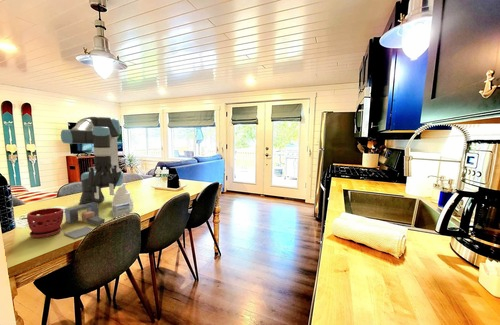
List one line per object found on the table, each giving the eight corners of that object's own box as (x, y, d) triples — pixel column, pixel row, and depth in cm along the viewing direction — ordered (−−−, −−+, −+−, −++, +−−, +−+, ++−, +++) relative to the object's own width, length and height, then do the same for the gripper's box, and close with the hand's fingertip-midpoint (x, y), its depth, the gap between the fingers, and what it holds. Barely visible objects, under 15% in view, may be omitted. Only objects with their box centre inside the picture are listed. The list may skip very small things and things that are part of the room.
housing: (94, 214, 135) (93, 202, 134) (98, 215, 133) (98, 203, 132) (65, 222, 122) (64, 208, 121) (70, 223, 120) (69, 210, 119)
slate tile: (86, 227, 116) (86, 226, 116) (97, 231, 111) (97, 230, 111) (64, 234, 107) (64, 233, 107) (75, 239, 102) (75, 237, 102)
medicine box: (116, 220, 126) (116, 206, 125) (113, 219, 128) (112, 205, 127) (130, 216, 133) (129, 203, 132) (126, 215, 135) (125, 202, 134)
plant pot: (50, 239, 101) (48, 215, 100) (20, 239, 100) (18, 215, 99) (70, 228, 114) (69, 206, 113) (45, 228, 113) (43, 206, 112)
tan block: (90, 218, 128) (90, 210, 128) (94, 220, 126) (94, 212, 126) (82, 221, 124) (81, 213, 123) (86, 222, 122) (85, 214, 122)
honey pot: (127, 205, 154) (126, 181, 152) (137, 208, 148) (136, 183, 146) (108, 210, 143) (106, 184, 141) (118, 214, 137) (116, 187, 135)
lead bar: (94, 220, 126) (94, 215, 126) (104, 223, 122) (104, 218, 121) (87, 222, 122) (87, 218, 122) (97, 226, 118) (97, 221, 118)
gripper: (116, 154, 124) (118, 191, 127) (76, 156, 106) (79, 200, 108) (124, 154, 121) (126, 193, 123) (85, 157, 103) (88, 202, 105)
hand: (104, 196), depth 116 cm, fingers open, 7 cm apart
